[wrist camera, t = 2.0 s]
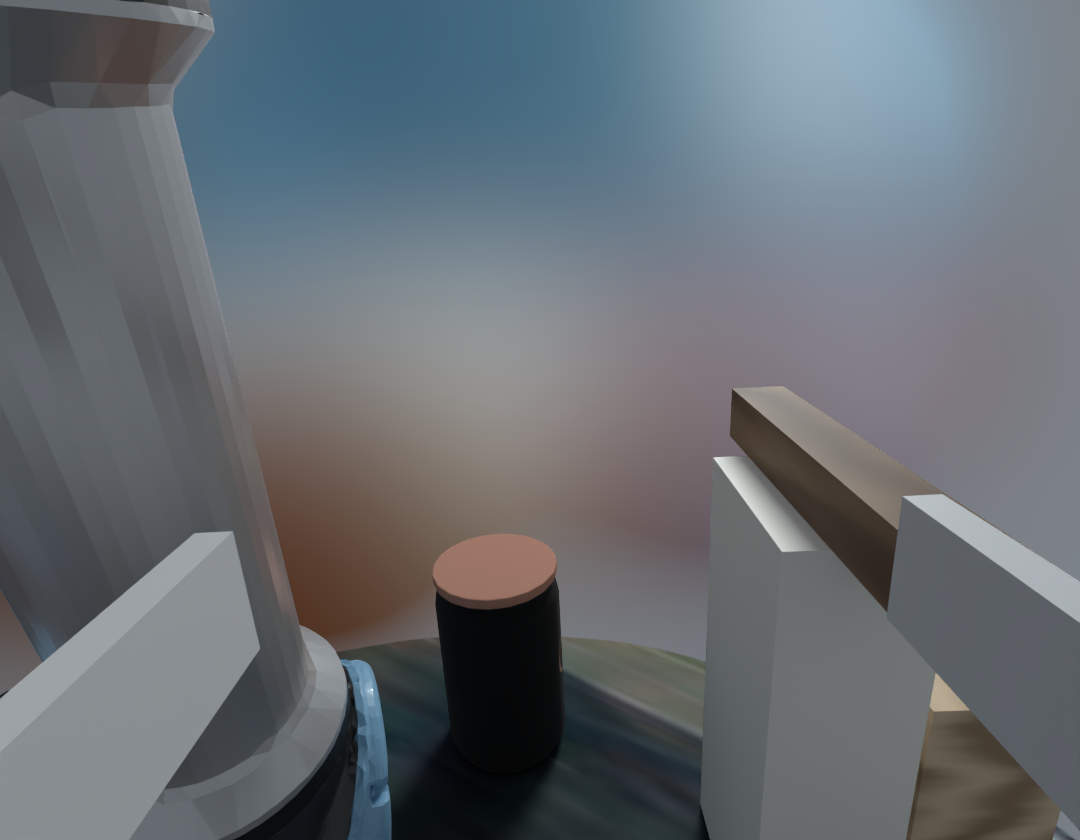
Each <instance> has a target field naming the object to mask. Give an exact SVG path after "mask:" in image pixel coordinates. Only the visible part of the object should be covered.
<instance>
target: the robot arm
mask: <svg viewBox="0 0 1080 840" xmlns="http://www.w3.org/2000/svg"><path fill="white" fill-rule="evenodd" d="M214 33H215V31H214V25H213V19H212V14H211V9H210V4H209V0H0V590H1V591H2V593H3V595H4V597H5V599H6V600H7V602H8V604H9V605H10V607H11V609H12V611H13V612H14V614H15V616H16V618H17V619H18V621H19V623H20V625H21V626H22V628H23V630H24V632H25V633H26V635H27V637H28V638H29V640H30V642H31V644H32V645H33V647H34V649H35V651H36V652H37V654H38V656H39V657H40V659H41V661H42V664H40V665H39V666H38V667H37V668H36V669H34V670H33V671H32V672H31V673H30V674H29V675H28V676H26V677H25V678H24V679H23V680H22V681H20V682H19V683H18V684H17V685H16V686H15V687H14V688H12V689H11V690H10V691H6V692H5V693H3V694H2V695H0V840H391V803H390V793H389V787H388V785H387V780H388V759H387V749H386V740H385V732H384V724H383V717H382V710H381V704H380V699H379V694H378V689H377V684H376V680H375V677H374V674H373V671H372V669H371V667H370V666H369V664H367V663H366V662H364V661H361V660H352V661H349V660H345V659H341V660H339V658H338V656H337V654H336V652H335V650H334V649H333V648H332V646H330V644H329V643H328V642H327V641H326V640H325V639H323V638H322V637H321V636H319V635H318V634H317V633H315V632H313V631H311V630H310V629H308V628H305V627H302V626H300V625H299V622H298V618H297V614H296V610H295V606H294V602H293V598H292V594H291V590H290V585H289V581H288V577H287V573H286V569H285V565H284V561H283V557H282V553H281V549H280V545H279V541H278V537H277V533H276V529H275V525H274V521H273V517H272V513H271V508H270V504H269V500H268V496H267V493H266V488H265V484H264V480H263V477H262V472H261V468H260V464H259V460H258V456H257V452H256V448H255V444H254V440H253V436H252V431H251V427H250V423H249V419H248V415H247V411H246V407H245V403H244V400H243V395H242V391H241V387H240V383H239V379H238V375H237V371H236V367H235V363H234V359H233V354H232V351H231V347H230V342H229V338H228V334H227V330H226V326H225V322H224V318H223V314H222V310H221V306H220V302H219V298H218V294H217V290H216V286H215V281H214V277H213V273H212V269H211V265H210V261H209V257H208V253H207V249H206V245H205V241H204V237H203V233H202V229H201V225H200V221H199V217H198V213H197V209H196V205H195V200H194V196H193V192H192V188H191V184H190V180H189V176H188V172H187V168H186V164H185V160H184V156H183V152H182V148H181V144H180V140H179V136H178V132H177V128H176V123H175V120H174V115H173V95H174V89H175V87H176V86H177V85H178V83H179V82H180V80H181V79H182V78H183V76H184V75H185V74H186V72H187V71H188V69H189V68H190V67H191V65H192V64H193V62H194V61H195V59H196V58H197V57H198V55H199V54H200V53H201V51H202V50H203V48H204V47H205V46H206V44H207V43H208V41H209V40H210V39H211V37H212V36H213V35H214ZM886 618H887V619H888V620H889V622H890V623H891V624H892V625H893V626H894V627H895V628H896V629H897V630H898V631H899V633H900V634H901V635H902V636H903V637H904V638H905V639H906V640H907V641H908V642H909V644H910V645H911V646H912V647H913V648H914V649H915V650H916V651H917V652H918V653H919V654H920V656H921V657H922V658H923V659H924V660H925V661H926V662H927V663H928V664H929V665H930V667H931V668H932V669H933V670H934V671H935V672H936V673H937V674H938V675H939V676H940V678H941V679H942V680H943V681H944V682H945V683H946V684H947V685H948V686H949V687H950V689H951V690H952V691H953V692H954V693H955V694H956V695H957V696H958V697H959V698H960V700H961V701H962V702H963V703H964V704H965V705H966V706H967V707H968V708H969V709H970V711H971V712H972V713H973V714H974V715H975V716H976V717H977V718H978V719H979V720H980V722H981V723H982V724H983V725H984V726H985V727H986V728H987V729H988V730H989V731H990V733H991V734H992V735H993V736H994V737H995V738H996V739H997V740H998V741H999V742H1000V744H1001V745H1002V746H1003V747H1004V748H1005V749H1006V750H1007V751H1008V752H1009V753H1010V755H1011V756H1012V757H1013V758H1014V759H1015V760H1016V761H1017V762H1018V763H1019V764H1020V766H1021V767H1022V768H1023V769H1024V770H1025V771H1026V772H1027V773H1028V774H1029V775H1030V777H1031V778H1032V779H1033V780H1034V781H1035V782H1036V783H1037V784H1038V785H1039V786H1040V788H1041V789H1042V790H1043V791H1044V792H1045V793H1046V794H1047V795H1048V796H1049V797H1050V799H1051V800H1052V801H1053V802H1054V803H1055V804H1056V805H1057V806H1058V807H1059V808H1060V810H1061V811H1062V812H1063V813H1064V814H1065V815H1066V816H1067V817H1068V818H1069V819H1070V820H1071V822H1072V823H1073V824H1074V825H1075V826H1076V827H1077V828H1078V829H1079V830H1080V582H1079V581H1078V580H1076V579H1075V578H1073V577H1072V576H1070V575H1069V574H1067V573H1065V572H1064V571H1062V570H1061V569H1059V568H1057V567H1056V566H1054V565H1053V564H1051V563H1050V562H1048V561H1047V560H1045V559H1043V558H1042V557H1040V556H1039V555H1037V554H1036V553H1034V552H1032V551H1031V550H1029V549H1028V548H1026V547H1025V546H1023V545H1021V544H1020V543H1018V542H1017V541H1015V540H1014V539H1012V538H1010V537H1009V536H1007V535H1006V534H1004V533H1003V532H1001V531H999V530H998V529H996V528H995V527H993V526H992V525H990V524H988V523H987V522H985V521H984V520H982V519H981V518H979V517H977V516H976V515H974V514H973V513H971V512H970V511H968V510H967V509H965V508H963V507H962V506H960V505H959V504H957V503H956V502H954V501H952V500H951V499H949V498H948V497H946V496H945V495H943V494H935V495H916V496H902V503H901V511H900V518H899V526H898V534H897V541H896V549H895V556H894V564H893V572H892V579H891V587H890V595H889V602H888V610H887V617H886Z"/></svg>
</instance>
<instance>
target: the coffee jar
mask: <svg viewBox="0 0 1080 840" xmlns="http://www.w3.org/2000/svg"><path fill="white" fill-rule="evenodd" d="M556 571H557V561H556V558H555V554H554V552H553V551H552V550H551V549H550V548H549V547H548V546H547V545H546V544H545V543H543V542H541V541H539V540H536V539H534V538H531V537H526V536H522V535H518V534H494V535H484V536H480V537H476V538H473V539H468V540H465V541H463V542H461V543H459V544H457V545H455V546H452V547H451V548H449V549H448V550H447V551H445V552H444V553H443V554H442V555H440V557H439V558H438V560H437V561H436V563H435V564H434V566H433V575H432V578H433V582H434V585H435V587H436V589H437V592H436V604H435V605H436V613H437V621H438V629H439V637H440V645H441V653H442V662H443V670H444V678H445V686H446V694H447V702H448V710H449V718H450V726H451V734H452V737H453V740H454V742H455V744H456V747H457V749H458V750H459V751H460V752H461V753H462V754H463V755H464V756H465V757H466V758H467V759H468V760H469V761H470V762H471V763H473V764H474V765H475V766H478V767H480V768H482V769H484V770H486V771H488V772H496V773H503V774H506V773H513V772H519V771H523V770H525V769H528V768H530V767H532V766H534V765H537V764H538V763H539V762H540V761H541V760H543V759H544V758H545V757H546V756H547V755H549V753H550V752H551V751H552V750H553V749H554V747H555V745H556V744H557V742H558V741H559V739H560V737H561V735H562V733H563V728H564V723H565V705H564V685H563V665H562V645H561V627H560V606H559V589H558V586H557V582H556V578H555V575H556Z"/></svg>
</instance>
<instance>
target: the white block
mask: <svg viewBox="0 0 1080 840" xmlns="http://www.w3.org/2000/svg"><path fill="white" fill-rule="evenodd" d="M708 587H709V588H708V613H707V640H706V641H707V642H706V668H705V695H704V722H703V750H702V777H701V808H702V812H703V815H704V819H705V823H706V827H707V830H708V834H709V838H710V840H906V836H907V830H908V825H909V819H910V814H911V808H912V802H913V797H914V791H915V786H916V780H917V775H918V769H919V763H920V758H921V752H922V747H923V741H924V735H925V730H926V724H927V719H928V713H929V708H930V702H931V696H932V691H933V685H934V680H935V674H936V672H935V671H934V670H933V669H932V668H931V667H930V665H929V664H928V663H927V662H926V661H925V660H924V659H923V658H922V657H921V656H920V654H919V653H918V652H917V651H916V650H915V649H914V648H913V647H912V646H911V645H910V644H909V642H908V641H907V640H906V639H905V638H904V637H903V636H902V635H901V634H900V633H899V631H898V630H897V629H896V628H895V627H894V626H893V625H892V624H891V623H890V622H889V620H888V619H887V618H886V617H887V612H886V611H885V610H884V609H883V607H882V606H881V605H880V604H879V603H878V602H877V601H876V600H875V598H874V597H873V596H872V595H871V594H870V593H869V592H868V591H867V589H866V588H865V587H864V586H863V585H862V584H861V583H860V582H859V580H858V579H857V578H856V577H855V576H854V575H853V574H852V573H851V571H850V570H849V569H848V568H847V567H846V566H845V565H844V564H843V562H842V561H841V560H840V559H839V558H838V557H837V556H836V555H835V553H834V552H833V551H832V550H831V549H830V548H829V547H828V546H827V544H826V543H825V542H824V541H823V540H822V539H821V538H820V537H819V535H818V534H817V533H816V532H815V531H814V530H813V529H812V528H811V526H810V525H809V524H808V523H807V522H806V521H805V520H804V519H803V517H802V516H801V515H800V514H799V513H798V512H797V511H796V509H795V508H794V507H793V506H792V505H791V504H790V503H789V502H788V500H787V499H786V498H785V497H784V496H783V495H782V494H781V493H780V491H779V490H778V489H777V488H776V487H775V486H774V485H773V484H772V482H771V481H770V480H769V479H768V478H767V477H766V476H765V475H764V473H763V472H762V471H761V470H760V469H759V468H758V467H757V466H756V464H755V463H754V462H753V461H752V460H751V459H750V458H749V457H748V456H736V457H714V458H713V478H712V504H711V533H710V559H709V586H708Z"/></svg>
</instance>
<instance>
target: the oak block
mask: <svg viewBox="0 0 1080 840" xmlns="http://www.w3.org/2000/svg"><path fill="white" fill-rule="evenodd" d="M1059 814H1060V808H1059V807H1058V806H1057V805H1056V804H1055V803H1054V802H1053V801H1052V800H1051V799H1050V797H1049V796H1048V795H1047V794H1046V793H1045V792H1044V791H1043V790H1042V789H1041V788H1040V786H1039V785H1038V784H1037V783H1036V782H1035V781H1034V780H1033V779H1032V778H1031V777H1030V775H1029V774H1028V773H1027V772H1026V771H1025V770H1024V769H1023V768H1022V767H1021V766H1020V764H1019V763H1018V762H1017V761H1016V760H1015V759H1014V758H1013V757H1012V756H1011V755H1010V753H1009V752H1008V751H1007V750H1006V749H1005V748H1004V747H1003V746H1002V745H1001V744H1000V742H999V741H998V740H997V739H996V738H995V737H994V736H993V735H992V734H991V733H990V731H989V730H988V729H987V728H986V727H985V726H984V725H983V724H982V723H981V722H980V720H979V719H978V718H977V717H976V716H975V715H974V714H973V713H972V712H971V711H970V709H969V708H968V707H967V706H966V705H965V704H964V703H963V702H962V701H961V700H960V698H959V697H958V696H957V695H956V694H955V693H954V692H953V691H952V690H951V689H950V687H949V686H948V685H947V684H946V683H945V682H944V681H943V680H942V679H941V678H940V676H939V675H938V674H937V673H936V674H935V680H934V685H933V691H932V696H931V702H930V708H929V713H928V719H927V724H926V730H925V735H924V741H923V747H922V752H921V758H920V763H919V769H918V775H917V780H916V786H915V791H914V797H913V802H912V808H911V814H910V819H909V825H908V830H907V836H906V840H1052V839H1053V835H1054V832H1055V828H1056V824H1057V820H1058V817H1059Z"/></svg>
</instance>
